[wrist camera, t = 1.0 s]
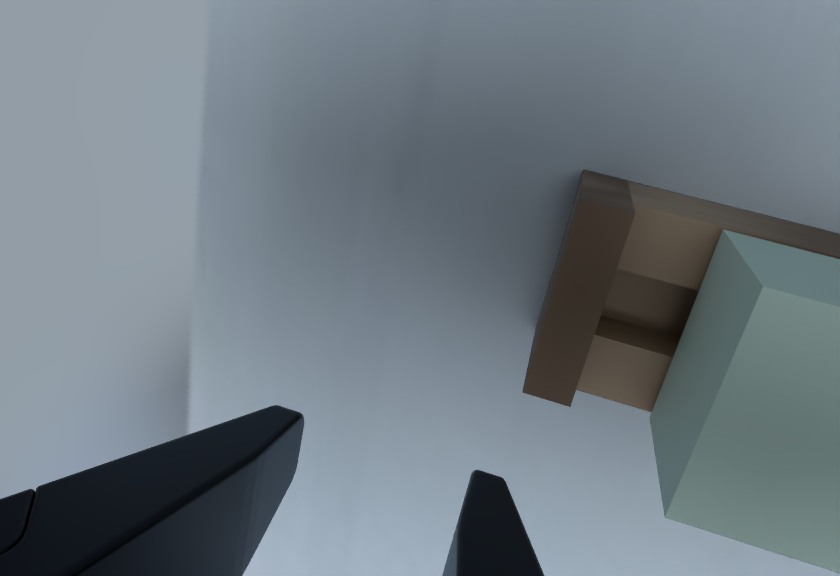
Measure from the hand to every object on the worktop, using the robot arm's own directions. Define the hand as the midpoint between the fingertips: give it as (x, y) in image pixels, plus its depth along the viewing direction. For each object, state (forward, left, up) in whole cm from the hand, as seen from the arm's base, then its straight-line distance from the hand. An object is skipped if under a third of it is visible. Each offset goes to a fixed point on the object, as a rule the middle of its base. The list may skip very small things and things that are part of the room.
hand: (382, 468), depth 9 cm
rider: (-7, 0, -10) cm, 12 cm away
